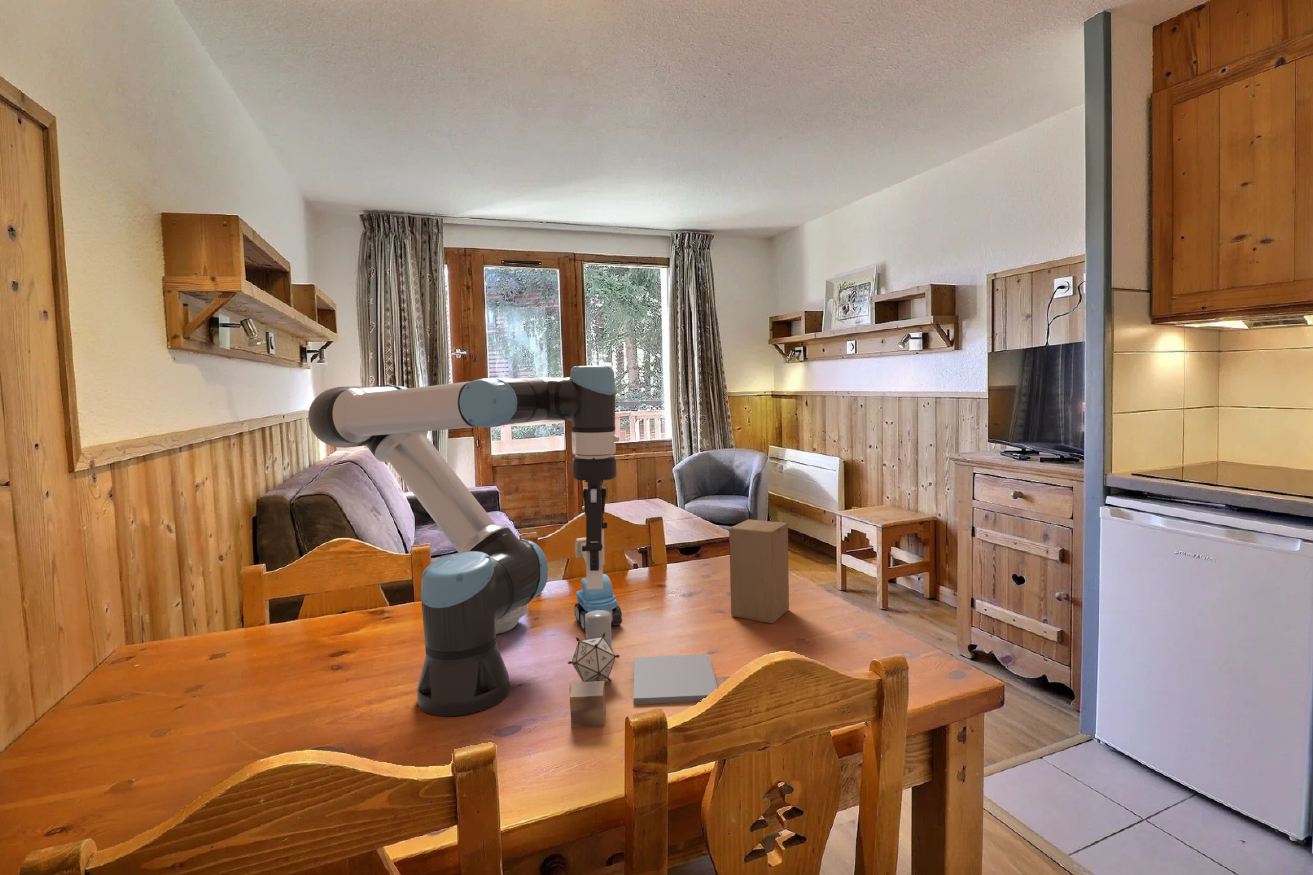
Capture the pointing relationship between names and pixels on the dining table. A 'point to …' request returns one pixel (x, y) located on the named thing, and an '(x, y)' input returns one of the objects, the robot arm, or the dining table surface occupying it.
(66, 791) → the dining table surface
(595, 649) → the game die
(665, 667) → the slate board
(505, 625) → the paper bowls
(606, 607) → the toy excavator
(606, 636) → the grey cylinder
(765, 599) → the wooden block
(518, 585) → the robot arm
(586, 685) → the walnut block
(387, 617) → the dining table surface
